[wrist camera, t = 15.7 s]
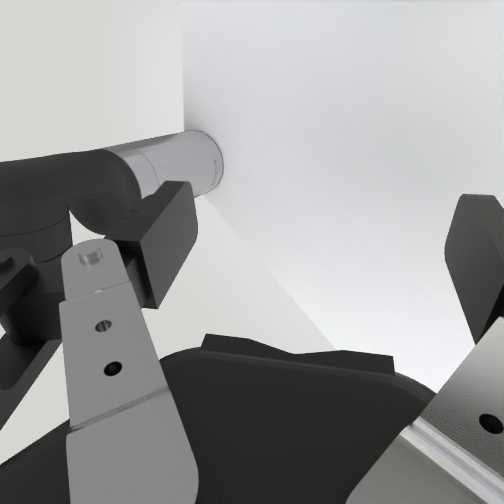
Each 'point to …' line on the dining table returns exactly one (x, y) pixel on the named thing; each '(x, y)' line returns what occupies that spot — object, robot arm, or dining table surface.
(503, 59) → the dining table surface
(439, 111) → the dining table surface
